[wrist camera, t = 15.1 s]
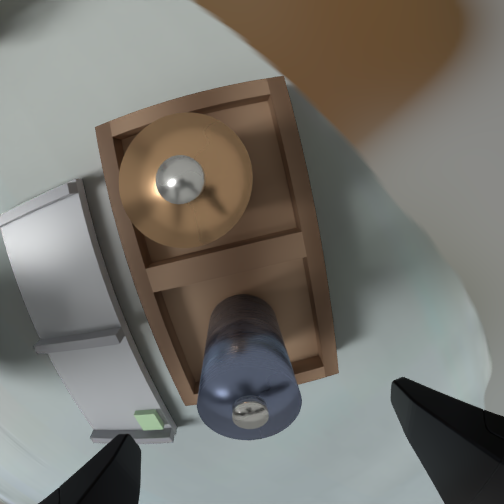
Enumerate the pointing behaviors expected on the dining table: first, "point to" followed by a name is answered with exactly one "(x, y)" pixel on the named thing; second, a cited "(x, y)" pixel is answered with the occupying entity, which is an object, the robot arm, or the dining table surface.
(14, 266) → the cradle
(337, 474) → the dining table surface
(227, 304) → the cylinder
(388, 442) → the dining table surface
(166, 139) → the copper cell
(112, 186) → the tray
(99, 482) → the robot arm
